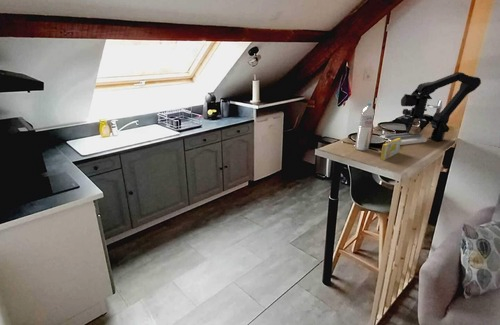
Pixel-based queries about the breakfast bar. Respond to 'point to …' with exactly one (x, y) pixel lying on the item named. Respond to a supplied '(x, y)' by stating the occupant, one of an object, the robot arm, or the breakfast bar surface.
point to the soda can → (371, 133)
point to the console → (406, 138)
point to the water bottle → (365, 128)
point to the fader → (414, 130)
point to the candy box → (390, 148)
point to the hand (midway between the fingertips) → (413, 132)
